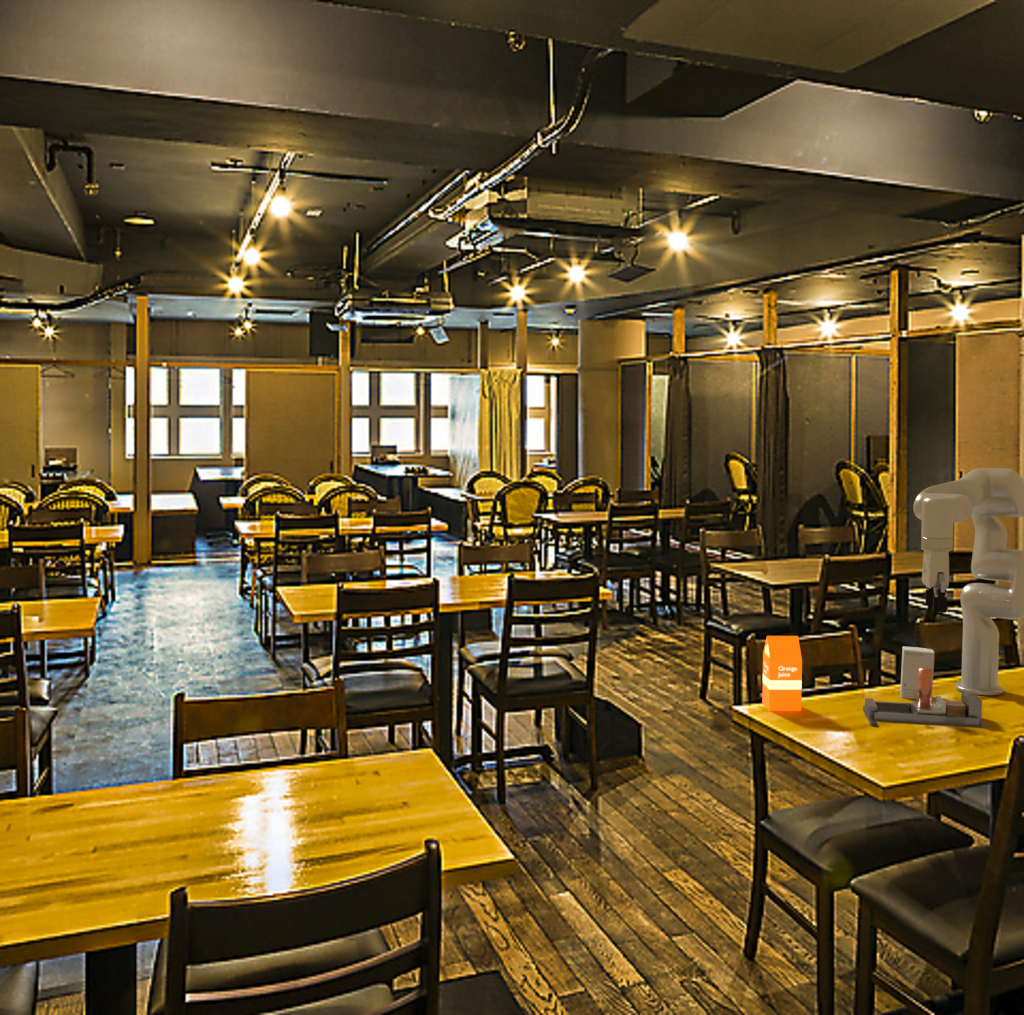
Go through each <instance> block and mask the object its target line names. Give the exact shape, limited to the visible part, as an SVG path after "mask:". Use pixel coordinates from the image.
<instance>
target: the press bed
mask: <svg viewBox="0 0 1024 1015" xmlns="http://www.w3.org/2000/svg"><path fill="white" fill-rule="evenodd" d="M960 695H961V698H960V699H961V700H960V701H962V703H963V704H964V705H965V706H966V710H965V717H957V716H939V715H922V714H913V713H912V711H911V702H898V701H895V702H894V701H883V700H882V701H880V700H879V701H878V700H875V699H874V698H871V697H864V705H863V706H862V711H863V713H864V715H865V717H866V719H867V721H868V723H869V725H870V726H871V725H874V726H875V727H879V726H880V724H878V722H879V723H880V722H881V723H896V724H897V723H898V724H910V725H912V724H913V725H927V726H928V725H929V726H930V725H931V726H943V727H944V726H947V727H960V728H961V727H962V728H979V729H989V727H988V725H987V724H986V723H985V722H984V721H983V719H982V717H983V716H982V715H983V714H982V713H983V710H982V709H983V701H982V700H981V698H979V695H977V694H975V693H970V692H963V691H961V694H960ZM876 725H878V726H876ZM874 726H873V727H874Z"/></svg>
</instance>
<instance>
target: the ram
mask: <svg viewBox="0 0 1024 1015" xmlns="http://www.w3.org/2000/svg"><path fill="white" fill-rule="evenodd" d="M932 699H933V687H932V669H931V668H926V667H920V668H918V698H917V699H916V701H911V702H910V703H911V711H912V713H913V714H922V715H939V716H946V702H945V701H944V699H943V698H942V696H941V695H936V696H935V702H932V701H933V700H932Z"/></svg>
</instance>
